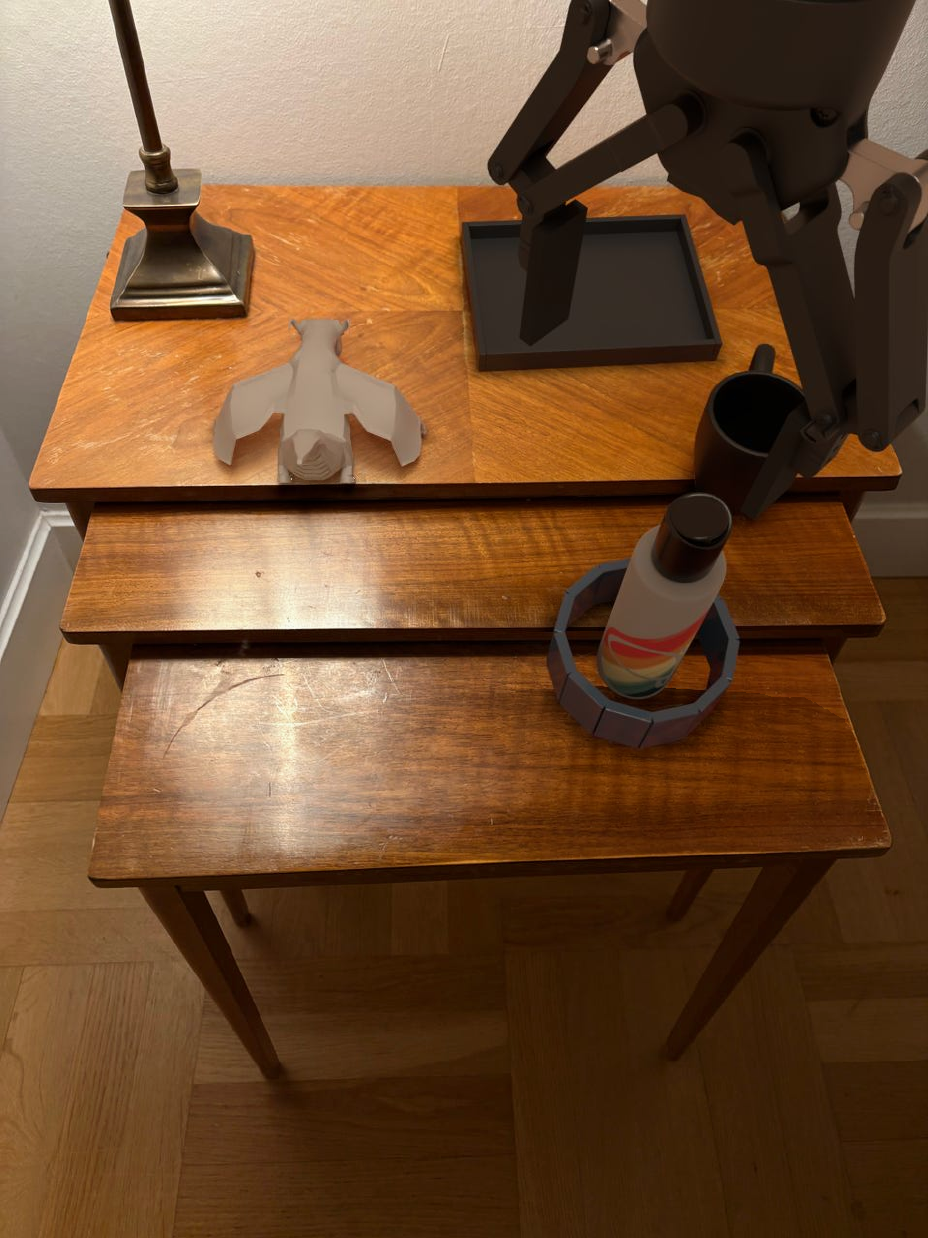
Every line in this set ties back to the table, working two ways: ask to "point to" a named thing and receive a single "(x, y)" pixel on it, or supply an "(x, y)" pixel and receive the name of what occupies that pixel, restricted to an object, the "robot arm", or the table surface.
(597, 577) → the segmented bangle bracelet
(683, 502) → the white cylindrical bottle
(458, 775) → the table surface
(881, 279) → the robot arm
